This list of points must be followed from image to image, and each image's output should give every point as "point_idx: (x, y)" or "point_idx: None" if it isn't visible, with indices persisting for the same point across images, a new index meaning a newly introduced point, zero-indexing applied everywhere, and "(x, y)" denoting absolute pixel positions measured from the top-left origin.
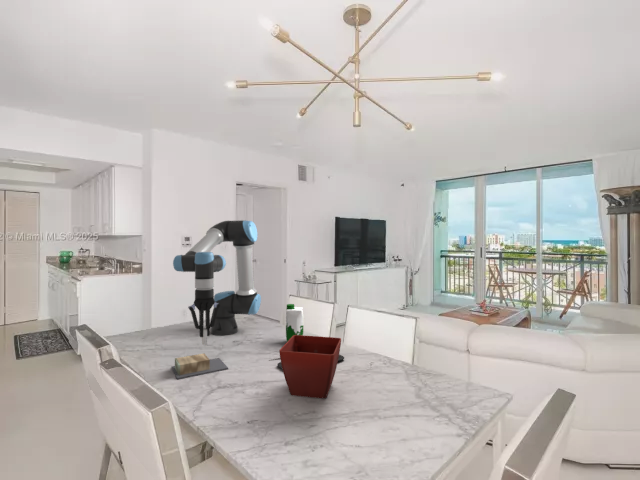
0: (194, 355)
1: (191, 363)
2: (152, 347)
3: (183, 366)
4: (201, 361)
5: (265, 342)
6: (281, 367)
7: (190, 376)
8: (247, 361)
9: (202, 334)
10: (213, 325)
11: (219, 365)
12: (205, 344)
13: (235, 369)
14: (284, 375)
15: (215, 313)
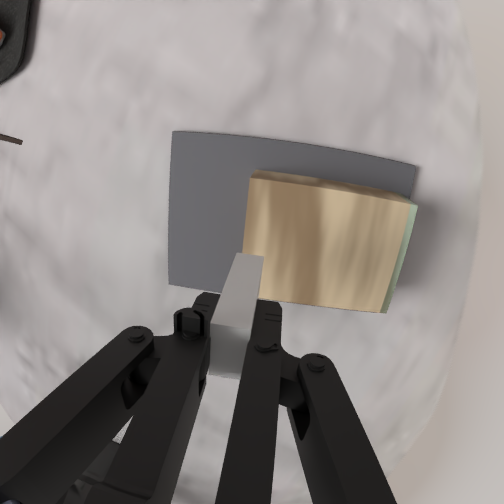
0: (294, 296)
1: (354, 192)
2: None
3: (392, 198)
4: (298, 184)
5: (10, 318)
6: (25, 27)
7: (359, 153)
8: (79, 177)
9: (261, 313)
10: (128, 332)
11: (197, 187)
12: (248, 256)
13: (149, 111)
14: None
15: (34, 430)
